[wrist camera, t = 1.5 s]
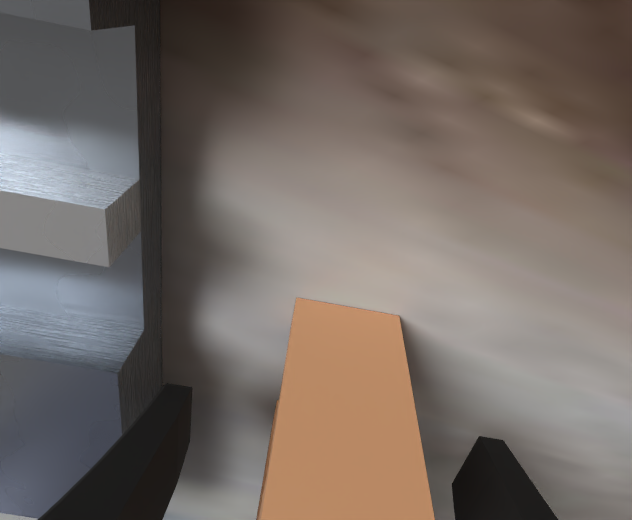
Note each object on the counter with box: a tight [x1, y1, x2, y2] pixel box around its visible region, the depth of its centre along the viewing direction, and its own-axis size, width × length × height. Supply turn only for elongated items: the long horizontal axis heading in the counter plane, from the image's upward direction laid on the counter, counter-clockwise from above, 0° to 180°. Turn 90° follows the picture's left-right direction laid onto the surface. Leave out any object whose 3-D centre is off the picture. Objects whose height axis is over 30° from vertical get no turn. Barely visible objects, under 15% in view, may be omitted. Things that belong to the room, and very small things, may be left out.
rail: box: [0, 0, 162, 519], centre depth 9 cm, size 20×5×3 cm, turn 170°
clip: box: [256, 298, 435, 520], centre depth 11 cm, size 5×3×6 cm, turn 170°
